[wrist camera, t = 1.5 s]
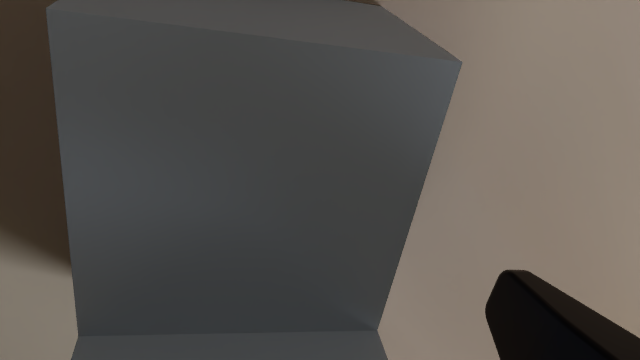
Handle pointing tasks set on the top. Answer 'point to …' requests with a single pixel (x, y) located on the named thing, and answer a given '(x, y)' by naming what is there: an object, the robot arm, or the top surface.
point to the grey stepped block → (240, 172)
